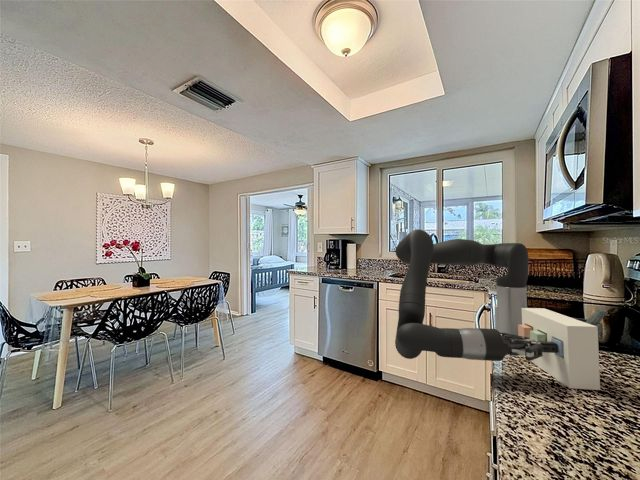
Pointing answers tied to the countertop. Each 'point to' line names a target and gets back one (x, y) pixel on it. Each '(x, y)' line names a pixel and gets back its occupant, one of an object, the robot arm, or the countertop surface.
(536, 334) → the sage button
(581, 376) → the control box
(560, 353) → the blue button
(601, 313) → the mortar and pestle
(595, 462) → the countertop surface
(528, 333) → the terracotta button
